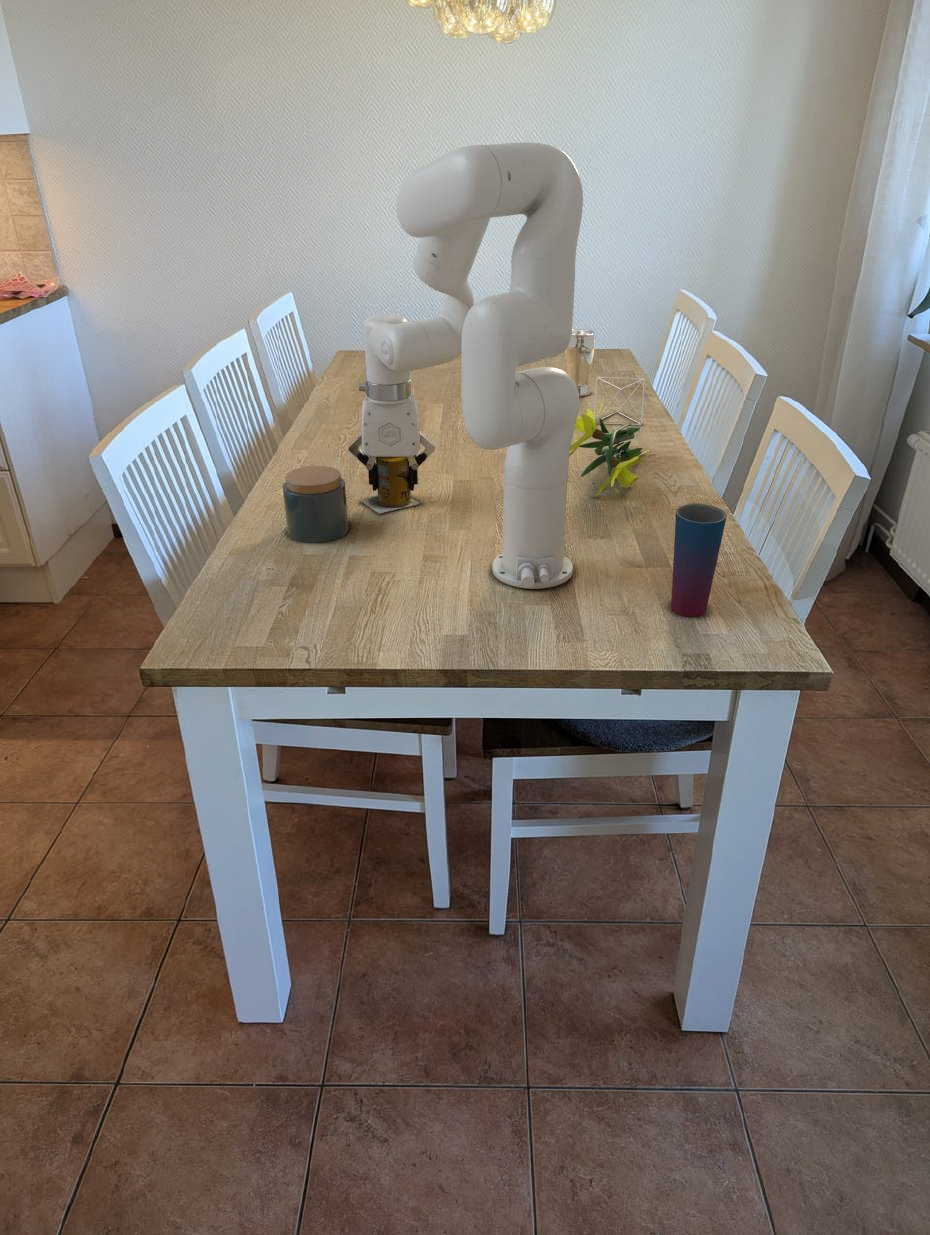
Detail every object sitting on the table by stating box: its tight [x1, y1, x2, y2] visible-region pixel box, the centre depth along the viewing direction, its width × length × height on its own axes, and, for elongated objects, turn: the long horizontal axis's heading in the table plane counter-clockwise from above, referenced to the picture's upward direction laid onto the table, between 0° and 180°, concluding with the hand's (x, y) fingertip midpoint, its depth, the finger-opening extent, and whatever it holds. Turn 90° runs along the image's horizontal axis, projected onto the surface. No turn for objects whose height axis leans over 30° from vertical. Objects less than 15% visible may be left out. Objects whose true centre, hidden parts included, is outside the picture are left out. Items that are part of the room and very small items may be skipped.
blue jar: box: [282, 465, 349, 544], centre depth 155 cm, size 10×10×10 cm
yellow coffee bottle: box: [360, 457, 420, 515], centre depth 165 cm, size 7×8×12 cm
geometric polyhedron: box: [593, 376, 646, 426], centre depth 208 cm, size 12×11×9 cm
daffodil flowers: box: [570, 397, 654, 498], centre depth 174 cm, size 17×15×35 cm
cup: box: [670, 503, 728, 618], centre depth 129 cm, size 7×7×15 cm
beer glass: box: [564, 328, 595, 397], centre depth 226 cm, size 7×7×15 cm
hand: (393, 487), depth 167 cm, fingers closed on yellow coffee bottle, 6 cm apart
